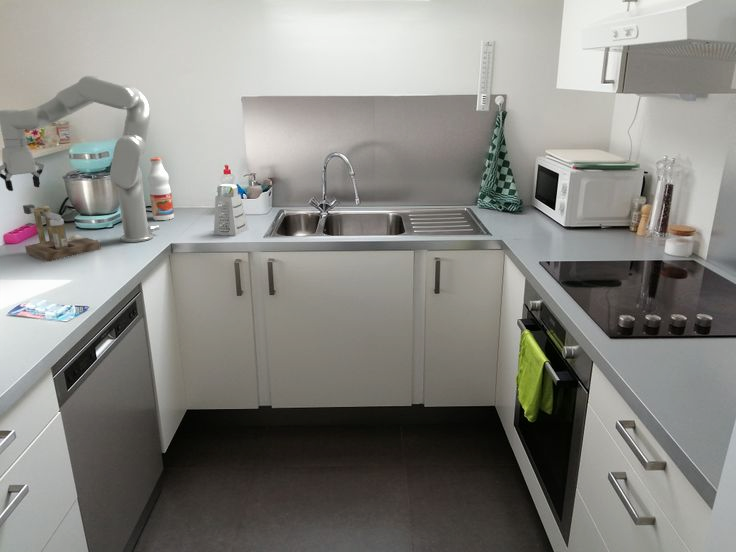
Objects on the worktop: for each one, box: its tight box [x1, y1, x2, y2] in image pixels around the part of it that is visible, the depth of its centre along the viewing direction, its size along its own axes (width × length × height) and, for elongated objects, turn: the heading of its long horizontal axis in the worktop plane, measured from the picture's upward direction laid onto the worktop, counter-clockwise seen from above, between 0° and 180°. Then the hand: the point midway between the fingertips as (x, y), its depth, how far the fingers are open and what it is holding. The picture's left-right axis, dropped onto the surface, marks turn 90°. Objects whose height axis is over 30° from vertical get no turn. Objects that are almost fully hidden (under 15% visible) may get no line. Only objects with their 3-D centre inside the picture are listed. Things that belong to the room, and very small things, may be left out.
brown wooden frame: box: [24, 205, 101, 262], centre depth 223 cm, size 20×17×16 cm
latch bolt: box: [22, 203, 63, 220], centre depth 224 cm, size 3×26×3 cm, turn 52°
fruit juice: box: [147, 157, 175, 221], centre depth 270 cm, size 9×9×28 cm
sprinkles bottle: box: [50, 218, 68, 250], centre depth 220 cm, size 5×5×13 cm
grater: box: [213, 183, 249, 237], centre depth 247 cm, size 10×10×20 cm
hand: (23, 188), depth 228 cm, fingers open, 9 cm apart
